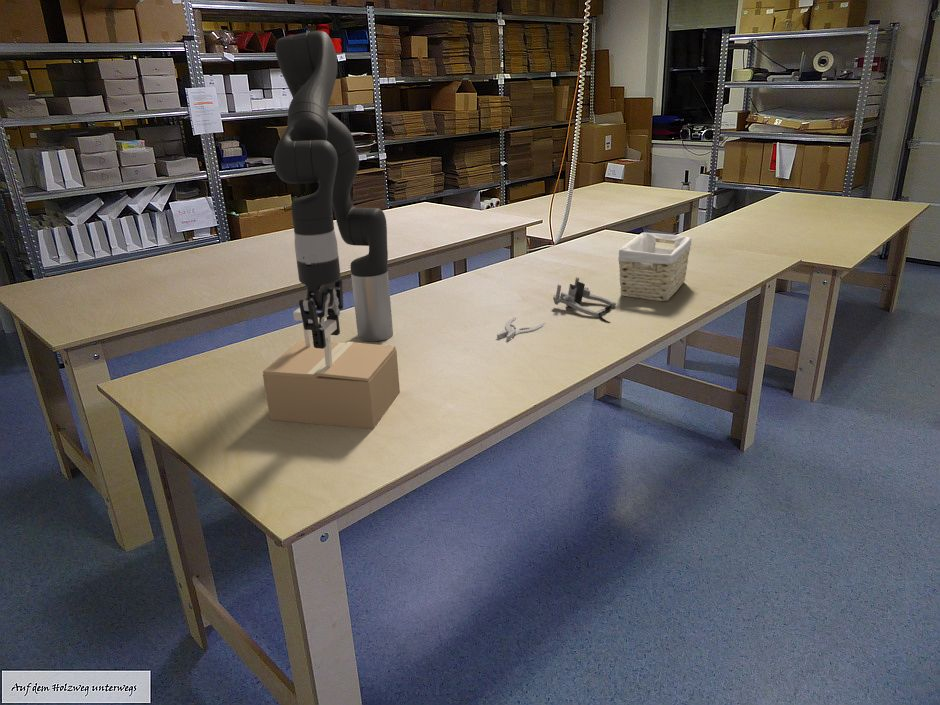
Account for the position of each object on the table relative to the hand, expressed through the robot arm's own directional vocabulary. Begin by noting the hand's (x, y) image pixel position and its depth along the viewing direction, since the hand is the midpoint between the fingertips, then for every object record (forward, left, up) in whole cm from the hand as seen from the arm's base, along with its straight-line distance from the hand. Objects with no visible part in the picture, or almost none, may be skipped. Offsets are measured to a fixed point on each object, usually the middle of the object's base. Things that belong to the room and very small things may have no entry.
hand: (327, 340), depth 127 cm
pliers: (-52, +28, -17) cm, 62 cm away
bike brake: (-72, +46, -17) cm, 87 cm away
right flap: (-4, +4, -6) cm, 8 cm away
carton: (-4, -2, -16) cm, 17 cm away
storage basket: (-92, +64, -17) cm, 113 cm away
